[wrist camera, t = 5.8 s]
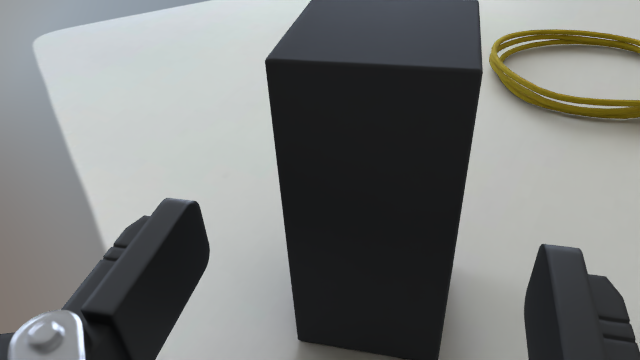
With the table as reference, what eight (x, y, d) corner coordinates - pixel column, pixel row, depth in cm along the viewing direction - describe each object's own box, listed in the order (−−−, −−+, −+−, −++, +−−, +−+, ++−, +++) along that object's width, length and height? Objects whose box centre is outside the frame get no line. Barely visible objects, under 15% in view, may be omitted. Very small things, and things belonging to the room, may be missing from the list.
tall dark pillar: (297, 340, 17) (263, 59, 11) (327, 246, 20) (313, -5, 15) (437, 364, 16) (483, 70, 10) (442, 261, 20) (479, -2, 14)
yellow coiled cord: (709, 184, 22) (728, 147, 21) (449, 70, 33) (453, 41, 32) (820, 102, 28) (840, 68, 26) (564, 27, 38) (571, 0, 37)
